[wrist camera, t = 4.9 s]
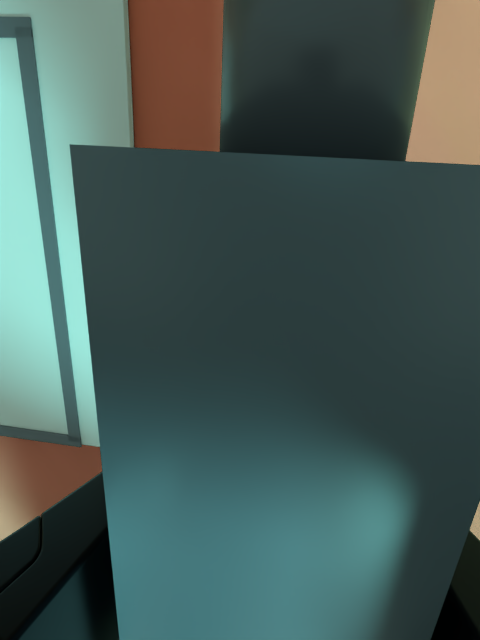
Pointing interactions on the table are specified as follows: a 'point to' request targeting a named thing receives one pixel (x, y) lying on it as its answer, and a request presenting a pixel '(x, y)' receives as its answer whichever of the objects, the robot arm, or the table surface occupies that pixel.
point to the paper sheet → (52, 203)
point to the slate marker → (288, 343)
